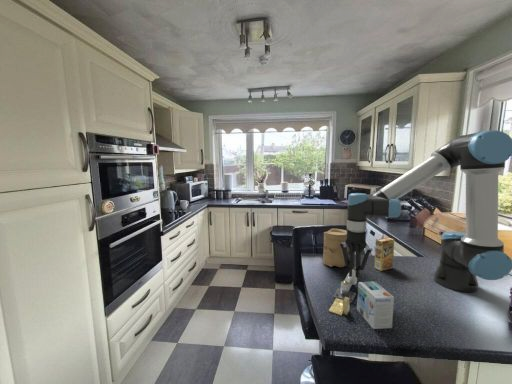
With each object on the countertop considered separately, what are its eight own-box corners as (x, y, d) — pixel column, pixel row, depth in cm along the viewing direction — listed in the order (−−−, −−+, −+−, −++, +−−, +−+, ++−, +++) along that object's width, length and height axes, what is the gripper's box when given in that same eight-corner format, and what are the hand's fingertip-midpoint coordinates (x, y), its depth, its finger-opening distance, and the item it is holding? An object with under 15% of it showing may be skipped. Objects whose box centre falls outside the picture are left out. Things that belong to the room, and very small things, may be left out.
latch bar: (348, 296, 90) (348, 284, 90) (339, 293, 92) (340, 282, 91) (354, 280, 102) (355, 270, 102) (347, 279, 104) (347, 268, 104)
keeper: (352, 304, 87) (352, 291, 87) (346, 317, 79) (346, 304, 79) (336, 299, 90) (336, 287, 90) (328, 311, 83) (329, 298, 82)
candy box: (381, 271, 115) (382, 241, 113) (373, 267, 119) (375, 239, 117) (393, 268, 118) (395, 239, 116) (385, 265, 122) (387, 237, 120)
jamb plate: (355, 294, 93) (355, 292, 93) (351, 303, 88) (351, 300, 88) (338, 289, 97) (338, 287, 97) (333, 297, 92) (333, 295, 92)
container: (320, 265, 122) (320, 232, 120) (327, 257, 132) (327, 227, 130) (344, 271, 115) (346, 236, 113) (350, 262, 125) (351, 230, 123)
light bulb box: (356, 309, 84) (357, 281, 83) (373, 308, 85) (375, 280, 83) (373, 329, 73) (375, 298, 72) (393, 328, 74) (395, 297, 73)
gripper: (375, 230, 95) (372, 284, 97) (344, 225, 103) (342, 275, 106) (370, 234, 89) (367, 292, 92) (337, 229, 98) (336, 281, 100)
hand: (354, 283), depth 99 cm, fingers closed
